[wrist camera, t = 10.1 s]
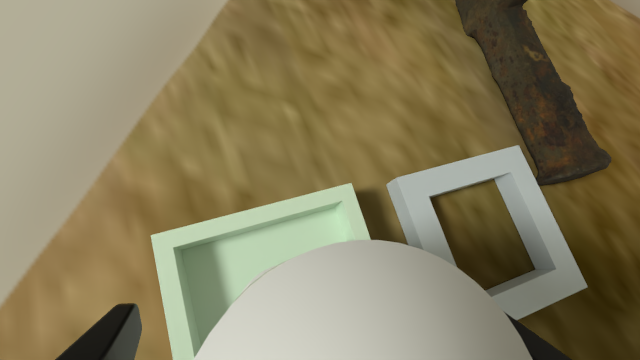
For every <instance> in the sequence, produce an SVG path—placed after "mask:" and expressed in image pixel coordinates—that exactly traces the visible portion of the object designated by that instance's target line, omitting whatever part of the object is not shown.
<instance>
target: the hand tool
mask: <svg viewBox="0 0 640 360" xmlns="http://www.w3.org/2000/svg"><path fill="white" fill-rule="evenodd" d="M526 1H527V0H456V6H457V8H458V12H459V14H460V17H461V20H462V24H463V28H464V31H465V33H466V35H467V36H469V37H472V38H475V39H476V40H477V42H478V43H479V44H480V46H481V48H482V51H483V53H484V55H485V58H486V61H487V63H488V65H489V67H490V69H491V72H492V77H493V78H494V79H495V80H496V81H497V83H498V85H499V87H500V89H501V91H502V93H503V95H504V98H505V100H506V102H507V104H508V107H509V109H510V111H511V114H512V116H513V118H514V120H515V122H516V124H517V127H518V128H519V130H520V132H521V135H522V137H523V139H524V141H525V143H526V146H527V148H528V151H529V152H530V154H531V156H532V157H533V159H534V162H535V164H536V166H537V169H538V176H537V178H536V179H535V180H536V182H537V184H538V185H547V184H555V183H560V182H565V181H569V180H573V179H577V178H581V177H583V176H586V175H588V174H591V173H594V172H596V171H599V170H602V169H605V168H607V167H608V165H609V163H610V162H611V157H610V155H609V154H608V153H607V152H606V151H604V150H603V149H601V148H599V146H598V145H597V143H596V141H595V140H594V139H593V138H592V136H591V134H590V133H589V131H588V130H587V127H586V124H585V122H584V120H583V119H582V114H581V113H580V112H579V111H578V109H577V107H576V103H575V101H574V99H573V93H572V92H571V90H570V89H571V88H570V87H569V86H568V85H566V84H565V83H563V82H562V81H561V79H560V77H559V75H558V73H557V72H556V70H555V68H554V66H553V64H552V62H551V60H550V58H549V57H548V55H547V53H546V52H545V50H544V48H543V46H542V44H541V42H540V40H539V38H538V36H537V34H536V32H535V30H534V27H533V26H532V21H530V19H529V18H528V17H527V12H526V10H523V8H522V6H523V4H524V3H525V2H526Z"/></svg>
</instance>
